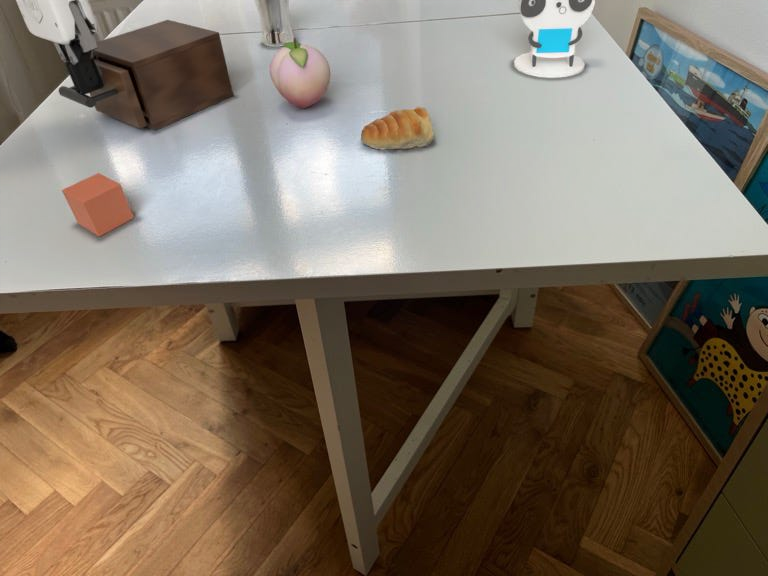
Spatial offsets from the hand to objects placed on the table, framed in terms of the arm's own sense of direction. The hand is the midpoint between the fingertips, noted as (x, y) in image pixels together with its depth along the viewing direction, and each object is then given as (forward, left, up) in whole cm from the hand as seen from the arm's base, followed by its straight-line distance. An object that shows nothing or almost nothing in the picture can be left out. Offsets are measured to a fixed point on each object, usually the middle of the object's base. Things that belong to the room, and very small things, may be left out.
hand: (91, 89), depth 76 cm
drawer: (+6, +2, -5) cm, 8 cm away
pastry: (+30, -31, -6) cm, 43 cm away
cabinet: (+11, +3, -6) cm, 13 cm away
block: (-7, -24, -6) cm, 26 cm away
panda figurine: (+65, -26, -6) cm, 70 cm away
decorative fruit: (+26, -13, -6) cm, 30 cm away
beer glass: (+38, +17, -6) cm, 42 cm away
